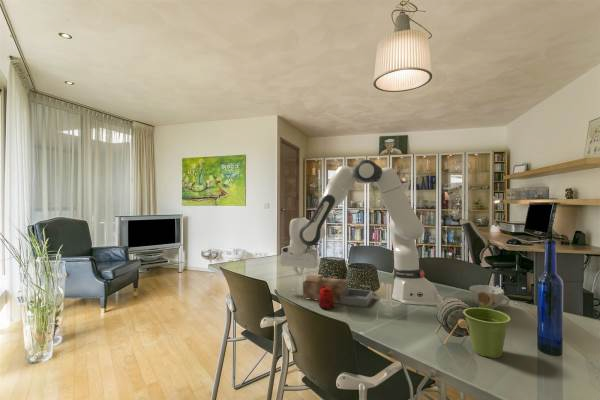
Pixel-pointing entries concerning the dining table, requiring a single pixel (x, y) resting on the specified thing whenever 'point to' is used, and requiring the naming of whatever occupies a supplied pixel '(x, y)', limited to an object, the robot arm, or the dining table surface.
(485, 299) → the snail figurine
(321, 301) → the red clay folk toy
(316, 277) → the tile
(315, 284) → the brown rectangular box
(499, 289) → the teacup
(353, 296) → the box
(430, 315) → the dining table surface
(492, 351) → the plant pot
